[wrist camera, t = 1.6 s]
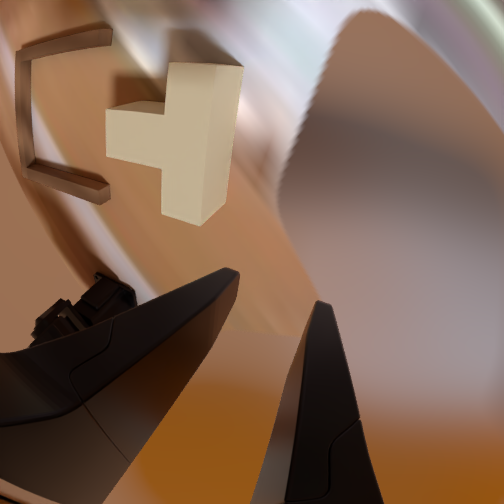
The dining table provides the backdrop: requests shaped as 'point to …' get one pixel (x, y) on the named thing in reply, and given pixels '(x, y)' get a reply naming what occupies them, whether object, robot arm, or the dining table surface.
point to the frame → (30, 169)
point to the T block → (183, 137)
